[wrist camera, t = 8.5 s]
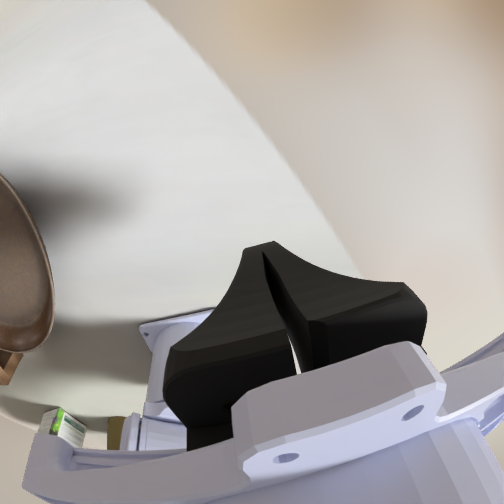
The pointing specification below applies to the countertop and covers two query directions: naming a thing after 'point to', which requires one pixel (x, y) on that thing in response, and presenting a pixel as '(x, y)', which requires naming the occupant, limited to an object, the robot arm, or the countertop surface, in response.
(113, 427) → the cork
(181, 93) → the countertop surface
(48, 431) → the syrup box
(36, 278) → the plant saucer
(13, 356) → the walnut shelf
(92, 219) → the countertop surface
